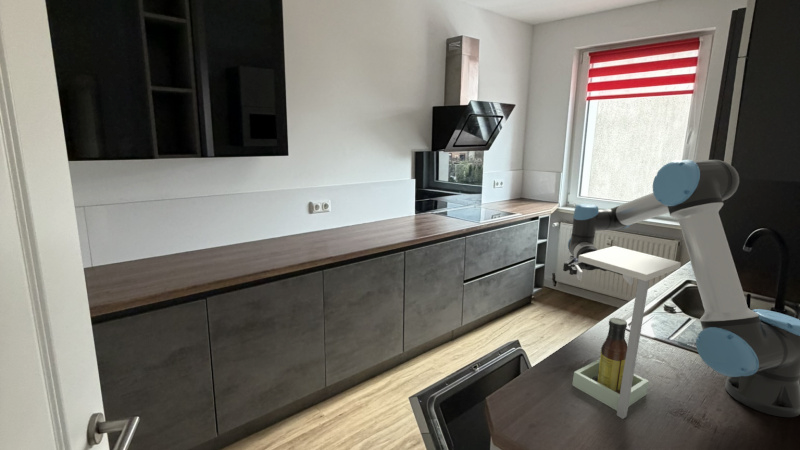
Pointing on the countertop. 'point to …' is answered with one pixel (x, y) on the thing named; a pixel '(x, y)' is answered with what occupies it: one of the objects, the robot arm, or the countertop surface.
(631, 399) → the frame
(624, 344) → the sauce bottle
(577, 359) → the countertop surface
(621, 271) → the c-shaped side table
